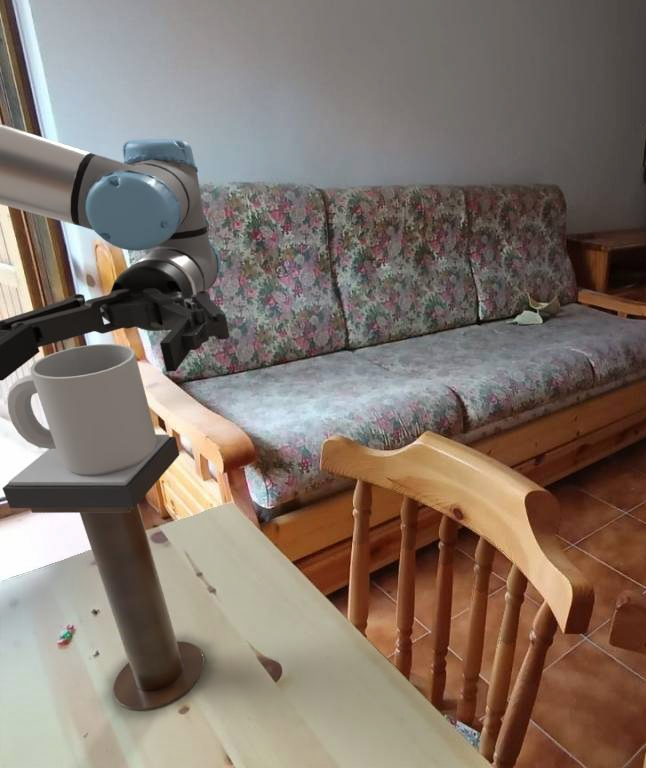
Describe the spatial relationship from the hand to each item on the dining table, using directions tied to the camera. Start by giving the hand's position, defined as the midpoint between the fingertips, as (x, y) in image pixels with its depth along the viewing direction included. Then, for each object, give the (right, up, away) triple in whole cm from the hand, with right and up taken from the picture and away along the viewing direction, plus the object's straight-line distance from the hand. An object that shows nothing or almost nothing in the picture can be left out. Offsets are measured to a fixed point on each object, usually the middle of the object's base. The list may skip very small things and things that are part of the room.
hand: (81, 361), depth 54 cm
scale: (+1, -10, +2) cm, 11 cm away
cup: (+1, -8, +1) cm, 8 cm away
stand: (0, -33, +12) cm, 35 cm away
